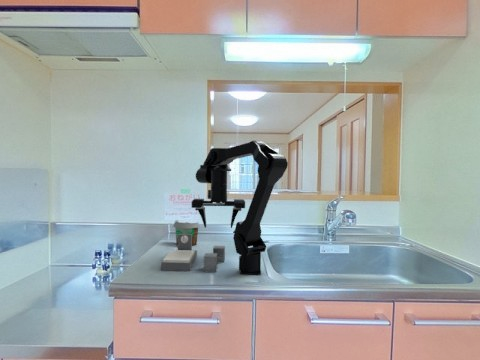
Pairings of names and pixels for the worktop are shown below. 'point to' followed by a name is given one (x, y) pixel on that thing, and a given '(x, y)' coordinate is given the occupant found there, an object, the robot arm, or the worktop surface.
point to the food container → (187, 230)
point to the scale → (181, 255)
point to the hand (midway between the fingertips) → (218, 227)
